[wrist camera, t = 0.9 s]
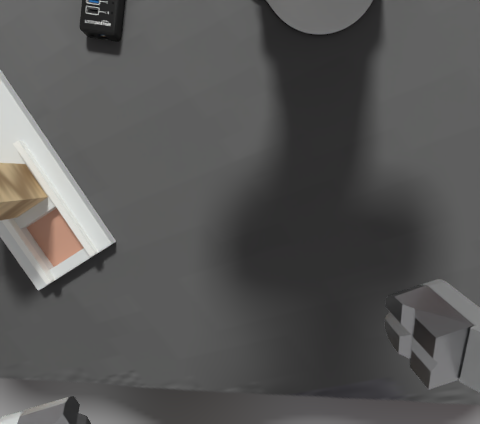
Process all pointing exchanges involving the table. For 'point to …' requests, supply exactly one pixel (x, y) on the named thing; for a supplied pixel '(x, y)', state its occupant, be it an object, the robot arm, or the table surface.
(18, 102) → the channel
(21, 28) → the table surface
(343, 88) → the table surface
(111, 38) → the multiport hub
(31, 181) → the block
